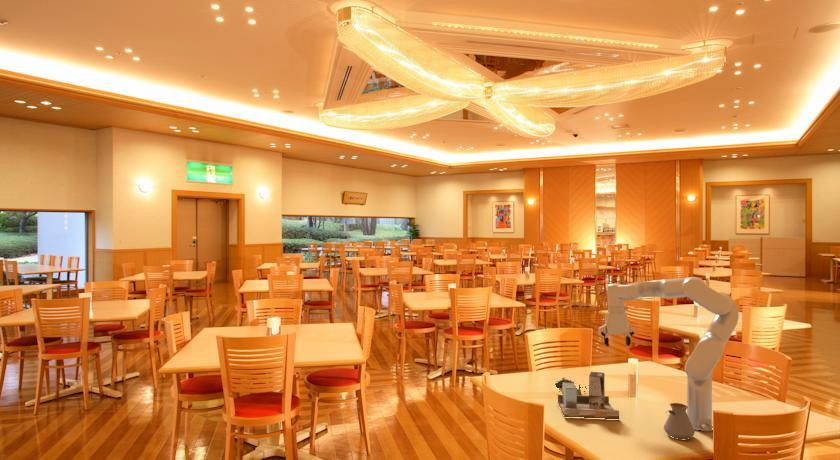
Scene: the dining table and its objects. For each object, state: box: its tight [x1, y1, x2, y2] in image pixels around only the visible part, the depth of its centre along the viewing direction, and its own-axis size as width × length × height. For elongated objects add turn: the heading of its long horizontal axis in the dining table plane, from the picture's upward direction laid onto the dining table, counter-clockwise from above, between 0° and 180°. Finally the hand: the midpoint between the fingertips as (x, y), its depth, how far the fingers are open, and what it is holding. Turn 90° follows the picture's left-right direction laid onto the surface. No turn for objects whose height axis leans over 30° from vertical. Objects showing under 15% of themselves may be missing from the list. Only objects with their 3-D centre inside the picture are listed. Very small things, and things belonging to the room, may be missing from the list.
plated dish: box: [555, 377, 587, 395], centre depth 264 cm, size 35×28×7 cm
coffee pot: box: [663, 402, 696, 440], centre depth 202 cm, size 21×12×15 cm, turn 139°
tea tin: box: [562, 382, 577, 409], centre depth 234 cm, size 8×5×10 cm, turn 174°
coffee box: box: [588, 371, 606, 409], centre depth 232 cm, size 9×6×16 cm
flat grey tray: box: [557, 394, 620, 420], centre depth 233 cm, size 18×24×5 cm
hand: (617, 345), depth 235 cm, fingers open, 9 cm apart
